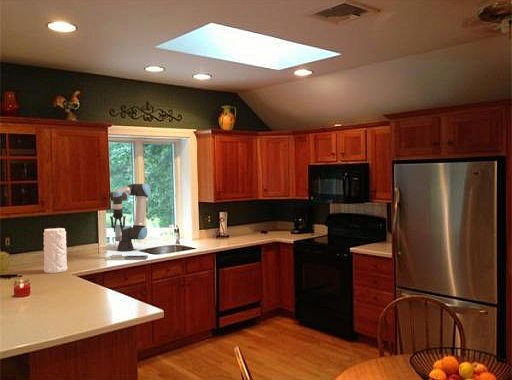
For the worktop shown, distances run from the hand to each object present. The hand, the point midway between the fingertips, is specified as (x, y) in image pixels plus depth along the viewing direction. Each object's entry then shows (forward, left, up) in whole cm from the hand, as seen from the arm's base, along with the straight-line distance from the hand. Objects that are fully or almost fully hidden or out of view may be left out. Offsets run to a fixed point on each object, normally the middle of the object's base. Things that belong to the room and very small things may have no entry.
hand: (118, 235), depth 391 cm
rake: (0, 0, -5) cm, 5 cm away
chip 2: (+10, +3, -19) cm, 22 cm away
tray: (+10, +1, -20) cm, 22 cm away
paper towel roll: (+50, -33, -20) cm, 64 cm away
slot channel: (+10, +18, -20) cm, 28 cm away
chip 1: (+10, -1, -19) cm, 22 cm away
